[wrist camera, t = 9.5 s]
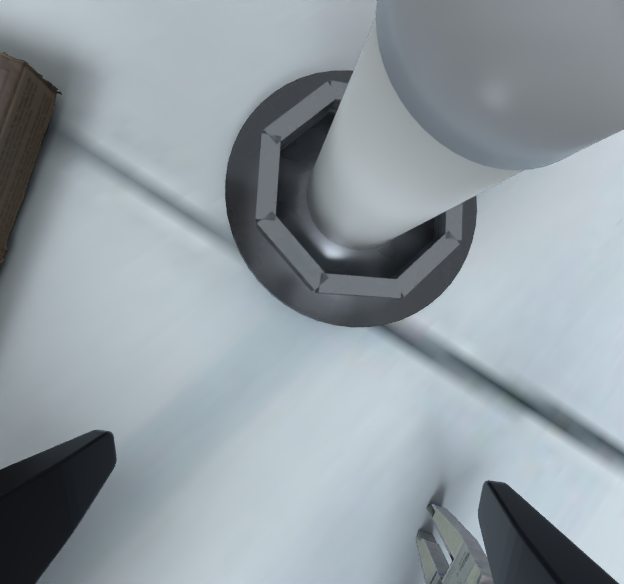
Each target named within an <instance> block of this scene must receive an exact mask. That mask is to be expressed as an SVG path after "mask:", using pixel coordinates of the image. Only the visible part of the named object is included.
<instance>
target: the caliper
mask: <svg viewBox="0 0 624 584" xmlns="http://www.w3.org/2000/svg"><path fill="white" fill-rule="evenodd" d="M427 510H428V512H429V514H430V516H431V518H432V520H433V522H434V524H435V526H436V528H437V530H438V532H439V534H440V536H441V538H442V540H443V542H444V544H445V546H446V549H447V551H448V553H449V555H450V557H451V559H452V563H451V564H450V566H449V564H448V562H447V560H446V558H445V556H444V554H443V552H442V550H441V548H440V546H439V544H437V543H436V540H435V538H434V536H433V535H432V534H429V533H426V532H424V531H421V530H418V533H417V536H416V542H417V547H418V551H419V556H420V560H421V565H422V569H423V574H424V579H425V583H426V584H494V583H493V579H492V574H491V570H490V566H489V562H488V558H487V557H486V555H485V553H484V551H483V550H482V548H481V546H480V544H479V543H478V541H477V540H476V539H475V538H474V537H473V536H472V534H471V533H470V532H469V531H468V530H467V529H466V528H465V527H464V526H463V525H462V524H461V523H460V522H459V521H458V520H457V519H456V518H455V517H454V516H453V515H452V514H451V513H450V512H449V511H448V510H447V509H445V508H442V507H440V506H437V505H434V504H431V505H429V506H428V507H427Z"/></svg>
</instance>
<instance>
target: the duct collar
mask: <svg viewBox="0 0 624 584" xmlns="http://www.w3.org/2000/svg"><path fill="white" fill-rule="evenodd" d="M352 74H353V71H328V72H322V73H316V74H313V75H309V76H306V77H302V78H300V79H298V80H295V81H293V82H291V83H289V84H287V85H285V86H283V87H282V88H280V89H279V90H277V91H275V92H274V93H273V94H271V95H270V96H269V97H268V98H267V99H265V100H264V101H263V102H262V103H261V104H260V105H259V106H258V107H257V108H256V109H255V111H254V112H253V113H252V114H251V115H250V116H249V118H248V119H247V121H246V122H245V124H244V126H243V127H242V129H241V130H240V132H239V134H238V137H237V139H236V141H235V143H234V145H233V148H232V152H231V155H230V158H229V162H228V167H227V174H226V185H225V199H226V207H227V215H228V219H229V223H230V227H231V231H232V234H233V238H234V240H235V242H236V245H237V247H238V250H239V252H240V254H241V256H242V258H243V259H244V261H245V263H246V264H247V266H248V268H249V269H250V271H251V272H252V273H253V275H254V276H255V277H256V278H257V280H258V281H259V282H260V283H261V284H262V285H263V286H264V287H265V288H266V289H267V290H268V291H269V292H270V293H271V294H272V295H273V296H274V297H276V298H277V299H278V300H279V301H281V302H282V303H283V304H285V305H286V306H288V307H290V308H291V309H293V310H295V311H296V312H298V313H300V314H302V315H305V316H307V317H309V318H312V319H314V320H317V321H321V322H325V323H328V324H332V325H339V326H347V327H372V326H379V325H385V324H389V323H392V322H396V321H399V320H402V319H404V318H406V317H408V316H411V315H413V314H415V313H417V312H418V311H420V310H421V309H423V308H425V307H426V306H428V305H429V304H430V303H432V302H433V301H434V300H435V299H436V298H437V297H439V296H440V295H441V294H442V293H443V292H444V291H445V289H446V288H447V287H448V286H449V285H450V284H451V283H452V281H453V280H454V278H455V277H456V275H457V274H458V272H459V271H460V269H461V267H462V265H463V263H464V261H465V259H466V257H467V255H468V252H469V249H470V246H471V243H472V240H473V235H474V230H475V225H476V213H477V204H476V196H474V197H472V198H470V199H468V200H466V201H464V202H462V203H460V204H458V205H456V206H455V207H453V208H451V209H449V210H447V211H445V212H443V213H441V214H439V215H437V216H436V217H434V218H432V219H430V220H428V221H426V222H424V223H422V224H420V225H418V226H416V227H415V228H413V229H411V230H409V231H407V232H405V233H403V234H401V235H399V236H397V237H395V238H394V239H392V240H390V241H388V242H386V243H384V244H382V245H380V246H378V247H375V248H371V249H366V250H354V249H348V248H345V247H342V246H339V245H337V244H335V243H334V242H332V241H330V240H329V239H328V238H326V237H325V236H324V235H323V234H322V233H321V232H320V231H319V229H318V228H317V227H316V225H315V224H314V222H313V220H312V218H311V216H310V213H309V210H308V206H307V198H306V192H307V185H308V181H309V178H310V175H311V173H312V171H313V168H314V166H315V163H316V161H317V158H318V156H319V154H320V151H321V149H322V146H323V144H324V141H325V139H326V137H327V134H328V132H329V129H330V127H331V124H332V122H333V120H334V117H335V115H336V112H337V110H338V108H339V105H340V103H341V100H342V98H343V95H344V93H345V91H346V88H347V86H348V83H349V81H350V78H351V76H352Z"/></svg>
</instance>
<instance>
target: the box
mask: <svg viewBox="0 0 624 584" xmlns="http://www.w3.org/2000/svg"><path fill="white" fill-rule="evenodd" d="M42 77H43V76H42V75H40V74H39V73H37V72H36V71H35V70H34V69H33V68H32V67H31V66H30V65H29V64H28V63H27V62H25V61H23V60H18V59H15V58H13V57H11V56H8V55H7V54H6V53H5V52H3V53H0V263H2V262H4V260H3V257H4V255H6V253H4V252H6V251H8V248H7V244H6V242H7V240H8V235H9V233H10V231H11V230H12V227H13V225H14V222H15V221H14V219H15V217H16V216H17V213H18V209H19V208H20V206H21V205H20V204H21V203H22V200H23V199H24V192H25V190H26V189H27V188H26V185H28V180H29V178H30V174H31V172H32V170H33V168H34V167H35V163H36V162H35V159H36V158H38V152H39V151H40V147H41V144H40V143H41V142H42V139H43V138H44V132H45V133H46V128H48V124H49V120H50V119H51V112H52V111H53V106H54V105H55V104H54V103H55V98H56V94H57V93H59V94H61V92H57V90H58V89H57V88H56V87H55V86H53V85H52V84H51V83H50V82H49V81H46V80H45V79H43V78H42ZM61 95H62V94H61Z"/></svg>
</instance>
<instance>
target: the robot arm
mask: <svg viewBox="0 0 624 584" xmlns="http://www.w3.org/2000/svg"><path fill="white" fill-rule="evenodd" d="M115 464H116V450H115V443H114V436H113V434H112V433H111V432H110V431H104V430H93V431H91V432H88V433H86V434H83V435H81V436H79V437H76V438H74V439H72V440H69V441H67V442H65V443H62V444H60V445H57V446H55V447H53V448H50V449H48V450H46V451H43V452H41V453H39V454H36V455H34V456H31V457H29V458H27V459H24V460H22V461H20V462H17V463H15V464H12V465H10V466H8V467H5V468H3V469H1V470H0V584H35V583H36V582H37V581H38V579H39V578H40V577H41V575H42V574H43V573H44V571H45V570H46V569H47V567H48V566H49V565H50V563H51V562H52V561H53V559H54V558H55V557H56V555H57V554H58V553H59V551H60V550H61V549H62V547H63V546H64V544H65V543H66V542H67V540H68V539H69V538H70V536H71V535H72V533H73V532H74V530H75V529H76V527H77V526H78V524H79V523H80V521H81V520H82V518H83V517H84V515H85V513H86V512H87V510H88V509H89V507H90V506H91V504H92V502H93V501H94V499H95V498H96V496H97V494H98V493H99V491H100V490H101V488H102V487H103V485H104V483H105V482H106V480H107V479H108V477H109V475H110V474H111V472H112V471H113V469H114V467H115ZM478 519H479V524H480V528H481V533H482V537H483V541H484V545H485V549H486V553H487V558H488V562H489V566H490V570H491V574H492V579H493V583H494V584H619V583H618V582H617V581H615V580H614V579H613V578H612V577H611V576H610V575H609V574H608V573H606V572H605V571H604V570H603V569H602V568H601V567H600V566H599V565H597V564H596V563H595V562H594V561H593V560H592V559H591V558H590V557H588V556H587V555H586V554H585V553H584V552H583V551H582V550H581V549H579V548H578V547H577V546H576V545H575V544H574V543H573V542H572V541H570V540H569V539H568V538H567V537H566V536H565V535H564V534H563V533H561V532H560V531H559V530H558V529H557V528H556V527H555V526H554V525H552V524H551V523H550V522H549V521H548V520H547V519H546V518H545V517H543V516H542V515H541V514H540V513H539V512H538V511H537V510H536V509H534V508H533V507H532V506H531V505H530V504H529V503H528V502H527V501H525V500H524V499H523V498H522V497H521V496H520V495H519V494H518V493H516V492H515V491H514V490H513V489H512V488H511V487H510V486H508V485H507V484H506V483H503V482H497V481H489V480H488V481H485V482H484V484H483V488H482V493H481V498H480V503H479V508H478Z"/></svg>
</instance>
